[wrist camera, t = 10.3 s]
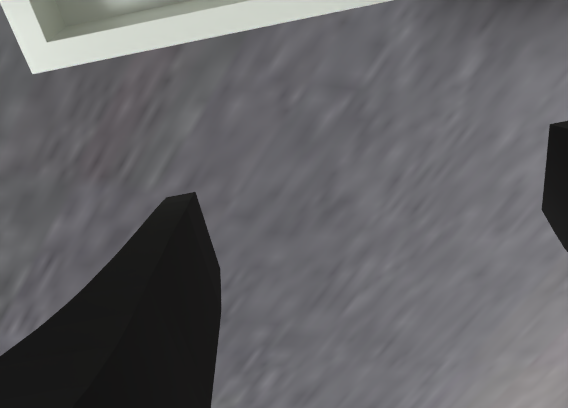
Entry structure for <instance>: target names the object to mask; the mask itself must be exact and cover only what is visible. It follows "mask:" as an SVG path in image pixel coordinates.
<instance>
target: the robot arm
mask: <svg viewBox="0 0 568 408" xmlns="http://www.w3.org/2000/svg"><path fill="white" fill-rule="evenodd" d="M542 211H543V213H544V215H545V216H546V218H547V220H548V222H549V223H550V225H551V227H552V229H553V230H554V232H555V234H556V235H557V237H558V239H559V240H560V242H561V243H562V245H563V247H564V248H565V249H566V251H567V252H568V121H565V122H559V123H554V124H550V128H549V139H548V149H547V160H546V171H545V181H544V192H543V203H542ZM220 318H221V279H220V267H219V264H218V261H217V258H216V254H215V251H214V248H213V245H212V242H211V239H210V236H209V233H208V230H207V227H206V223H205V220H204V217H203V214H202V211H201V208H200V205H199V202H198V199H197V195H196V192H193V193H188V194H182V195H177V196H172V197H167V198H166V199H165V200H164V201H163V202H162V203H161V204H160V205H159V206H158V207H157V208H156V209H155V210H154V212H153V213H152V214H151V215H150V216H149V217H148V219H147V220H146V221H145V222H144V223H143V225H142V226H141V227H140V228H139V229H138V230H137V232H136V233H135V234H134V235H133V236H132V237H131V238H130V240H129V241H128V242H127V243H126V244H125V245H124V246H123V248H122V249H121V250H120V251H119V252H118V253H117V254H116V255H115V256H114V257H113V258H112V260H111V261H110V262H109V263H108V264H107V265H106V266H105V267H104V268H103V269H102V270H101V271H100V272H99V273H98V274H97V275H96V276H95V277H94V278H93V279H92V280H91V281H90V282H89V283H88V284H87V285H86V286H85V287H84V288H83V289H82V290H81V291H80V292H79V293H78V294H77V295H76V296H75V297H74V298H73V299H72V300H70V301H69V302H68V303H67V304H66V305H65V306H64V307H63V308H61V309H60V310H59V311H58V312H57V313H56V314H54V315H53V316H52V317H51V318H50V319H48V320H47V321H46V322H45V323H44V324H43V325H41V326H40V327H39V328H38V329H36V330H35V331H34V332H32V333H31V334H30V335H28V336H27V337H26V338H24V339H23V340H22V341H20V342H19V343H18V344H16V345H15V346H14V347H12V348H11V349H10V350H8V351H7V352H5V353H4V354H3V355H1V356H0V408H211V399H212V390H213V382H214V373H215V364H216V355H217V346H218V337H219V328H220Z"/></svg>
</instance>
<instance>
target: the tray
mask: <svg viewBox="0 0 568 408" xmlns="http://www.w3.org/2000/svg"><path fill="white" fill-rule="evenodd" d="M387 1H392V0H0V3H1V6H2V8H3V10H4V12H5V14H6V17H7V19H8V21H9V23H10V26H11V28H12V30H13V32H14V34H15V37H16V39H17V41H18V43H19V45H20V48H21V50H22V52H23V54H24V56H25V59H26V61H27V63H28V65H29V67H30V70H31V72H32V74H35V73H40V72H45V71H50V70H55V69H60V68H65V67H70V66H74V65H79V64H84V63H89V62H94V61H99V60H104V59H109V58H114V57H118V56H123V55H128V54H133V53H138V52H143V51H148V50H153V49H157V48H162V47H167V46H172V45H177V44H182V43H187V42H192V41H196V40H201V39H206V38H211V37H216V36H221V35H226V34H231V33H236V32H240V31H245V30H250V29H255V28H260V27H265V26H270V25H275V24H279V23H284V22H289V21H294V20H299V19H304V18H309V17H314V16H319V15H323V14H328V13H333V12H338V11H343V10H348V9H353V8H358V7H362V6H367V5H372V4H377V3H382V2H387Z"/></svg>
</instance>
